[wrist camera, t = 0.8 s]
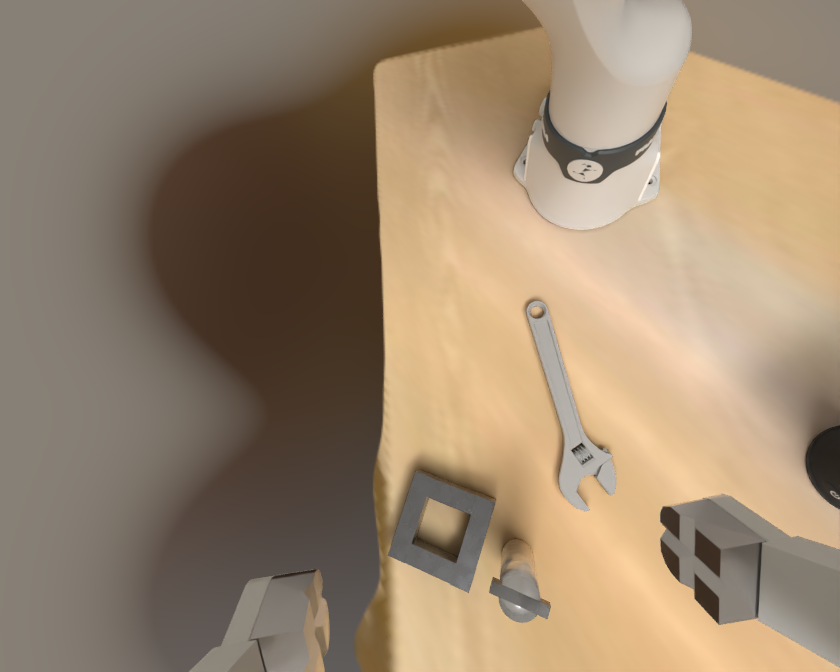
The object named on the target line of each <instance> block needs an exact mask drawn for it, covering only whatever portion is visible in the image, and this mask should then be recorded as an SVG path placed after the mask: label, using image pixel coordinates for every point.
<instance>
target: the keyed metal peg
mask: <svg viewBox="0 0 840 672" xmlns="http://www.w3.org/2000/svg"><path fill="white" fill-rule="evenodd" d="M489 593H491V594H493V595H495V596H498V597H499V603H500V606H501V609H502V610H503V612H504V613H505V614H506V616H508V617H509V618H510V619H512V620H513V621H516V622H521V623H524V622H528V621H531V620H532V619H534V618H535V617H536V616H537V615H539V616H541V617H543V618H546V619H548V615H549V612H550V608H551V606H550V602H548V601H546V600H544V599H541V598H540V593H539V587H538V581H537V575H536V570H535V564H534V558H533V553H532V550H531V548H530V547H529V545H528V544H527V543H525V542H524V541H522V540H518V539H514V540H510V541H509V542H507V543H506V544H505V546H504V547H503V551H502V561H501V573H500V580H499V579H496V578H494V577H493V579H492V583H491V586H490V591H489Z"/></svg>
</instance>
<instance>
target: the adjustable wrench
mask: <svg viewBox="0 0 840 672" xmlns="http://www.w3.org/2000/svg"><path fill="white" fill-rule="evenodd" d="M535 306H539V307H541V308H542V309H543V312H544V313H543V315H542V317H540V318H534V317H532V316H531V314H530V311H531V309H532V308H533V307H535ZM526 314H527V318H528V321H529V324H530V328H531V331H532V334H533V337H534V341H535V344H536V347H537V350H538V354H539V357H540V360H541V363H542V367H543V370H544V373H545V376H546V380H547V383H548V386H549V389H550V393H551V396H552V399H553V402H554V406H555V409H556V412H557V415H558V419H559V422H560V425H561V428H562V432H563V440H564V445H563V456H562V462H561V466H560V471H559V476H558V483H559V488H560V491H561V492H562V494H563V496H564V497H565V498H566V500H567V501H568V502H569V503H570V504H572V505H573V506H574V507H576V508H577V509H580V510H583V511H589V510H590V509H589V508H588V506H587V505H586V504H585V503H584V501H583V500H582V499H581V497H580V496H579V495H578V493H577V492H576V491H577V488H578V486H579V483H580V481H581V479H582V478H583V477H585V476H586V475H595V478H596V479H597V480H598V482H599V483H600V484H601V485H602V487H603V488H604V489H605V491H606V492H607V493H608V494H609V495H610V496H611V495H613V494H614V493H615V489H616V473H615V470H614V467H613V464H612V462H611V460H610V459H611V458H612V457H613V456H612V455H611V454H609V452H608V451H607V449H606V448H605V447H604V448H602V450H600V449H599V448H597V447H596V446H595V445H594V444H593V443H592V442H591V441H590V440H589V439H588V438H587V437H586V435H585V433H584V431H583V429H582V426H581V423H580V419H579V416H578V412H577V409H576V405H575V402H574V398H573V395H572V391H571V388H570V385H569V381H568V378H567V374H566V371H565V367H564V364H563V360H562V357H561V353H560V350H559V346H558V343H557V339H556V336H555V332H554V329H553V326H552V322H551V319H550V315H549V312H548V308H547V306H546V305H545V304H544V303H543V302H541V301H534V302H532V303H530V304H529V305H528V307H527V312H526ZM580 443H582V445H583V446H584V447H582V446H579V447H580V449H579V448H576V449H577V451H576V450H575V449H574V453H573V452H572V451H571V450H572V449H573V448H575V447H576V446H578V445H579V444H580ZM590 455H591V456H590ZM588 456H589V458H587V457H588ZM585 458H586V460H585ZM582 460H584V461H583V463H582ZM580 462H581V463H580Z"/></svg>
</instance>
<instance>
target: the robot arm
mask: <svg viewBox="0 0 840 672" xmlns="http://www.w3.org/2000/svg"><path fill="white" fill-rule="evenodd" d="M521 1H522V2H523V3H525V5H526V6H527V7H528V8H529V9H530V10H531V11H532V12H533V13H534V15H535V16H536V17H537V19H538V20H539V22H540V23H541V25H542V26H543V28H544V30H545V32H546V34H547V37H548V39H549V42H550V47H551V66H552V67H551V89H550V91H549V93H548V96H547V97H545V98H544V99H543V101H542V104H541V106H540V110H539V115H540V116H541V117H542V119H541V120H537V119H536V120H535V121H534V124H533V127H532V131H534V133H533V134H532V135H530V137H529V141H528V143H527V145H526V147H525V148H524V150H523V152H522V154H521V155H520V157H519V159H518V161H517V162H516V164H515V166H514V171H513V175H514V177H515V178H516V179H517V180H518V182H520V183H521V184H522V185H523V186H524V187H525V188H526V190H527V192H528V195H529V198H530V200H531V202H532V204H533V206H534V207H535V209H536V210H537V211H538V212H539V214H540V215H542V216H543V217H544V218H545V219H547V220H548V221H550V222H551V223H553V224H556V225H558V226H561V227H564V228H568V229H575V230H587V229H594V228H598V227H602V226H605V225H607V224H610V223H612V222H613V221H615V220H617V219H618V218H620V217H621V216H622V215H624V214H625V213H626V212H627V211H629V210H630V209H631V208H633V207H635V206H639V205H642V204H645V203H647V202H650V201H652V200H654V199H655V198H656V197H657V194H658V192H659V182H660V138H661V125H662V120H663V118H664V115H665V112H666V106H667V99H668V97H669V94H670V92H671V90H672V88H673V86H674V84H675V82H676V79H677V77H678V75H679V73H680V71H681V69H682V67H683V64H684V62H685V60H686V58H687V55H688V53H689V49H690V44H691V37H692V26H691V19H690V15H689V13H688V10H687V8H686V6H685V5H684V3H683V1H682V0H521ZM525 162H526V165H525V164H524V163H525ZM649 182H650V183H651V184H648V183H649ZM660 522H661V523H662V524H663V526H664V527H665V528H666V530H665V532H664V534H663V535H662V537H661V538H660V541H661V552H662V555H663V558H664V561H665V564H666V565H667V567H668V568H669V570H670V572H671V573H672V574H673V576H674V577H675V578H676V579H677V580H678V581H679V582H680V583H682V584H684V585H686V586H688V587H690V588H692V589H694V598H695V600H696V601H697V602H698V603H699V604H700V605H701V606H702V607H703V608H704V609H705V610H706V612H707V613H708V614H709V615H710V616H711V617H712V618H713V619H714V620H715V621H716V622H717V623H718V624H719V625H721V624H727V623H733V622H739V621H745V620H751V619H757V618H758V621H760V622H761V623H763V624H765V625H767V626H768V627H770V628H772V629H774V630H775V631H777V632H779V633H781V634H782V635H784V636H786V637H788V638H789V639H791V640H793V641H794V642H796V643H798V644H800V645H801V646H803V647H805V648H807V649H808V650H810V651H812V652H814V653H815V654H817V655H819V656H821V657H822V658H824V659H826V660H827V661H829V662H831V663H833V664H834V665H836V666H838V667H840V550H839V549H836V548H833V547H830V546H827V545H824V544H821V543H817V542H814V541H811V540H808V539H805V538H802V537H799V536H796V537H790V536H788V535H787V534H786V533H784V532H783V531H781V530H780V529H778V528H777V527H775V526H774V525H772V524H771V523H769V522H768V521H766V520H765V519H763V518H762V517H760V516H759V515H758V514H756V513H755V512H753V511H752V510H750V509H749V508H747V507H746V506H744V505H743V504H741V503H740V502H738V501H737V500H735V499H734V498H733V497H731V496H728V495H725V494H721V495H716V496H711V497H706V498H703V499H700V500H694V501H689V502H684V503H678V504H673V505H668V506H663V507H662V510H661V512H660ZM322 586H323V583H322V578H321V574H320V571H319V570H318V569H313V570H307V571H301V572H294V573H288V574H281V575H275V576H273V577H272V576H271V577H265V578H258V579H252V580H250V581H249V582H248V583H247V584H246V586H245V588H244V591H243V594H242V596H241V598H240V601H239V603H238V606H237V608H236V610H235V613H234V615H233V618H232V620H231V623H230V625H229V628H228V630H227V633H226V635H225V637H224V640H223V642H222V645H221V647H216V648H213V649H212V650H211V651H210V652H209V653H208V654H207V655H206V656H205V657H204V658H203V659H202V660H201V661H200V662H198V663H197V664H196V665H195V666H194V667H193V668H192V669H191V670H190V671H189V672H325V670H324V665H323V660H322V658H323V657H324V655H325V654H326V653H327V651H328V645H329V614H328V607H327V602H326V600H325V599H323V598H322V597H321V592H322Z"/></svg>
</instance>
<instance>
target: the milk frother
mask: <svg viewBox="0 0 840 672" xmlns="http://www.w3.org/2000/svg"><path fill="white" fill-rule="evenodd" d="M806 465H807V471H808V474H809V477H810V479H811V481H812V483H813V485H814V486H815V488H816V489H817V491H818V492H819V493H820V494H821V495H822V496H823V497H824V498H825V499H826V500H827V501H828V502H829V503H830V504H832V505H833V506H835V507H836V508H838V509H840V426H836V427H833V428H830V429H827V430H826V431H824V432H822V433H821V434H819V435H818V436H817V437H816V438H815V439H814V440H813V442H812V443H811V445H810V447H809V449H808V453H807V459H806Z"/></svg>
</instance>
